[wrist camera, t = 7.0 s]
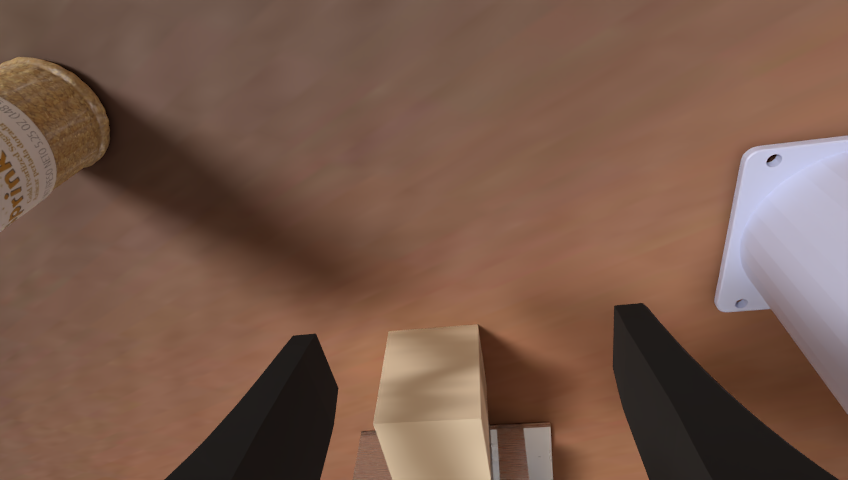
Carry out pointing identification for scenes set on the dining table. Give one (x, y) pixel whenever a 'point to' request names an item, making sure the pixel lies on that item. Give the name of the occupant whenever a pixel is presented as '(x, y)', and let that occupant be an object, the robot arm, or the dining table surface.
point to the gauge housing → (511, 454)
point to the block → (434, 405)
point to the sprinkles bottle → (44, 132)
